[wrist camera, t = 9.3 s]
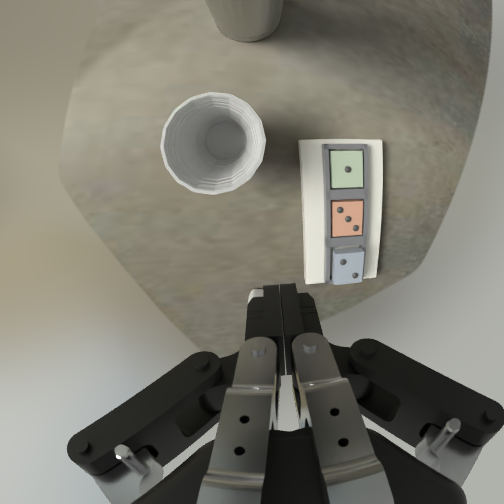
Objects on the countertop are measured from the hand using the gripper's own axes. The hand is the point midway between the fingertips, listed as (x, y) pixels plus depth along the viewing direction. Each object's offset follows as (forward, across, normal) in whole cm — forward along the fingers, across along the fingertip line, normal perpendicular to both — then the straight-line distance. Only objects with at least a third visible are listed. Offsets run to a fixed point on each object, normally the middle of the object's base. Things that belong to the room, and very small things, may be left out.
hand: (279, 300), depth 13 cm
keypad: (+29, -11, +5) cm, 31 cm away
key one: (+27, -11, -2) cm, 29 cm away
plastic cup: (+29, +5, -7) cm, 30 cm away
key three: (+27, -11, +5) cm, 29 cm away
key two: (+25, -11, +12) cm, 30 cm away
